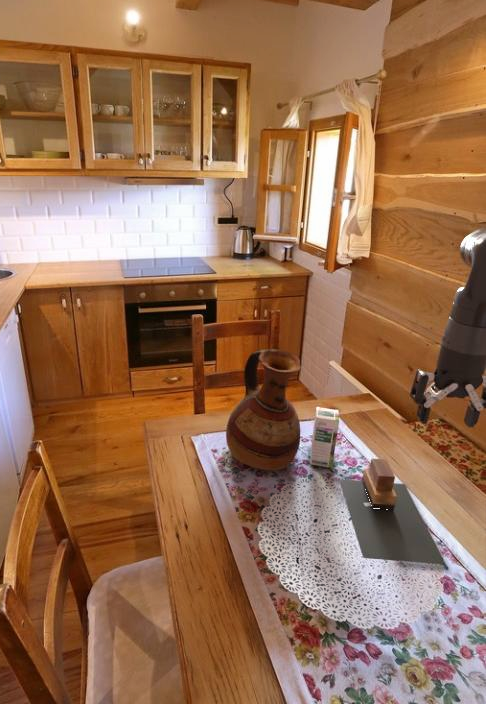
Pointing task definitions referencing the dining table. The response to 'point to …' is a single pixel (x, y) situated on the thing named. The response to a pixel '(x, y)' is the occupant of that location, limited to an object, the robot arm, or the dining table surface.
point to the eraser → (380, 484)
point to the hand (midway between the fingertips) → (445, 423)
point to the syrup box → (324, 437)
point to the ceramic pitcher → (266, 414)
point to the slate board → (390, 527)
